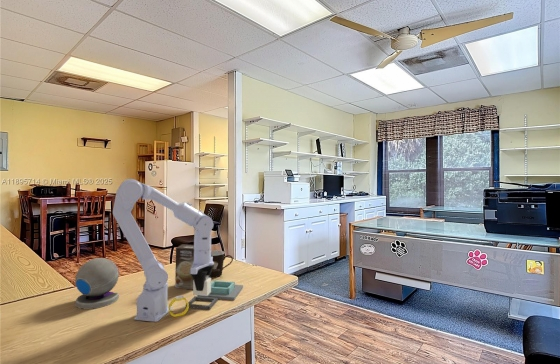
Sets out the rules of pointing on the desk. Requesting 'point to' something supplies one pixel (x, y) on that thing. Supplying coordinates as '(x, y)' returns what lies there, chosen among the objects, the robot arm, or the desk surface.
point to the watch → (178, 298)
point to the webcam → (96, 283)
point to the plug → (205, 290)
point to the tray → (202, 300)
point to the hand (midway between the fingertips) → (202, 288)
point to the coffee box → (184, 266)
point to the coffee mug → (218, 263)
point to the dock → (224, 290)
